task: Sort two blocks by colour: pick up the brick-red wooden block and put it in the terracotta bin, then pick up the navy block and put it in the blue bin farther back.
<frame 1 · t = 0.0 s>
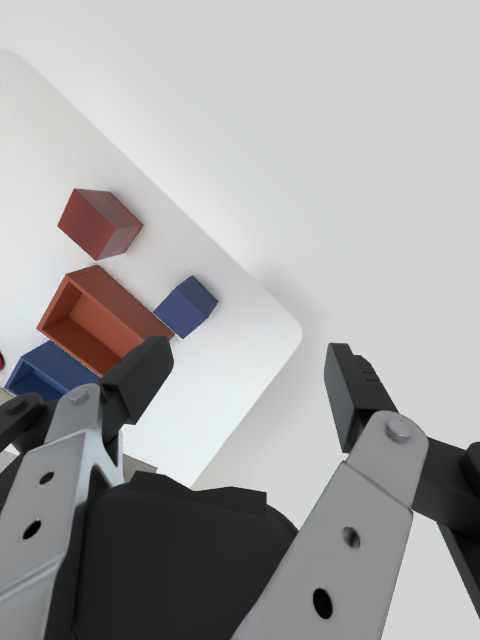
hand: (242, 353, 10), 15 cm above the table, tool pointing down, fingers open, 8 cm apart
red block: (117, 224, 24), on the table
blue bin: (71, 379, 39), on the table
architectural model: (105, 466, 54), on the table
reusable coffee cup: (0, 397, 47), on the table
terracotta bin: (119, 323, 31), on the table
navy block: (194, 299, 27), on the table
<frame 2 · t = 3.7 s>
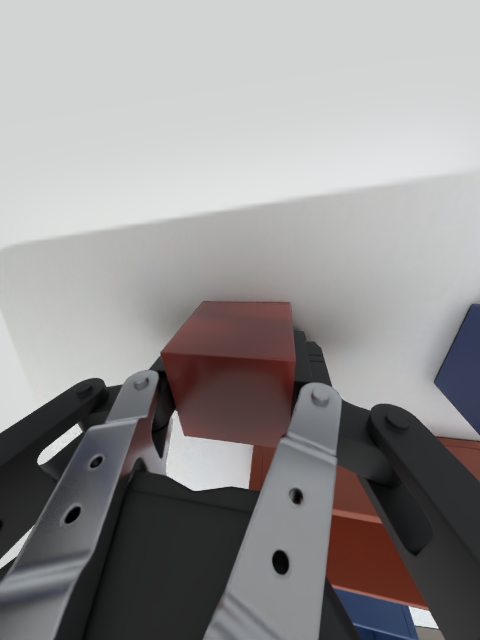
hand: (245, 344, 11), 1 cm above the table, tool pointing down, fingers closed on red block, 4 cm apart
red block: (246, 339, 12), on the table, touching gripper
blue bin: (317, 564, 25), on the table
terracotta bin: (345, 476, 16), on the table
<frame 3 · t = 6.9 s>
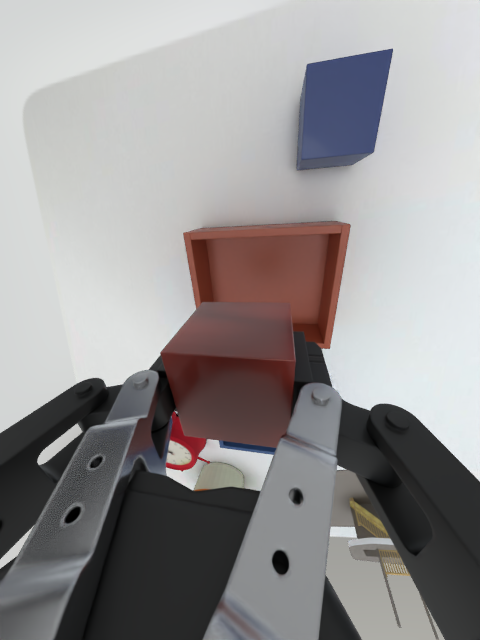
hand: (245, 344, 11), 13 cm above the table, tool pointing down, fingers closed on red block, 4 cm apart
alarm clock: (174, 426, 39), on the table
red block: (246, 339, 12), point 13 cm above the table, touching gripper
blue bin: (265, 401, 32), on the table
architectural model: (371, 499, 40), on the table
reusable coffee cup: (223, 473, 44), on the table
terracotta bin: (264, 280, 23), on the table
navy block: (327, 133, 17), on the table
when the fingers open (1 cm above the table, at t = 10.2 s): red block stays where it is, resting on terracotta bin.
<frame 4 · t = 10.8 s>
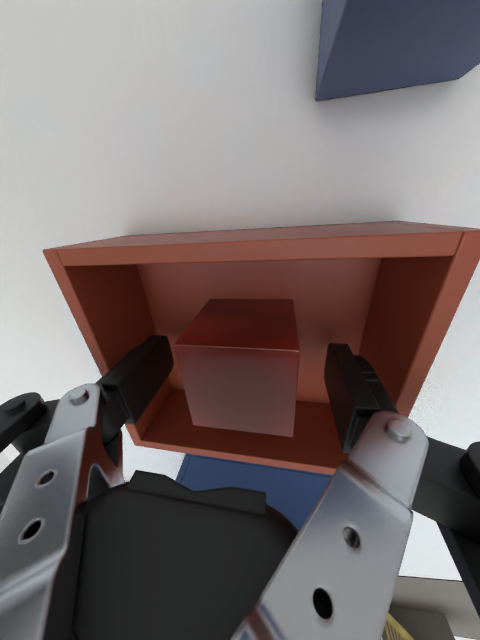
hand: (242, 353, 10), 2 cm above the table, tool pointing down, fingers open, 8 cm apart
red block: (251, 334, 12), resting on terracotta bin
blue bin: (257, 491, 21), on the table
architectural model: (405, 604, 29), on the table
terracotta bin: (250, 330, 13), on the table
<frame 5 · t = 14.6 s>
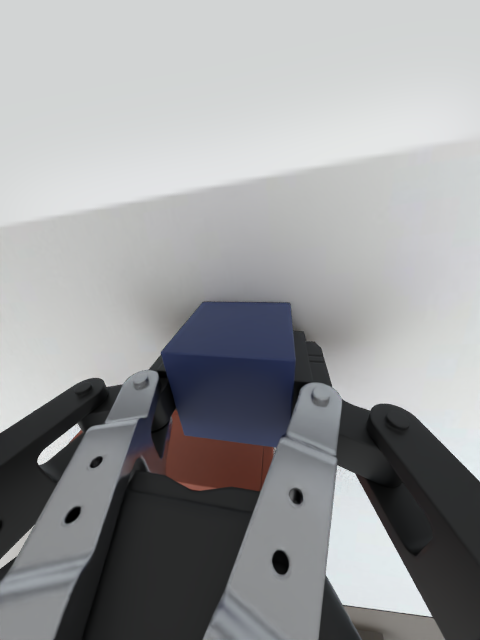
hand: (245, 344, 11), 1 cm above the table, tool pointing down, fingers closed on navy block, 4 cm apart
architectural model: (351, 624, 34), on the table
terracotta bin: (196, 454, 18), on the table
navy block: (246, 339, 12), on the table, touching gripper
when the fingers open (1 cm above the table, at t = 22.3 s): navy block stays where it is, resting on blue bin.
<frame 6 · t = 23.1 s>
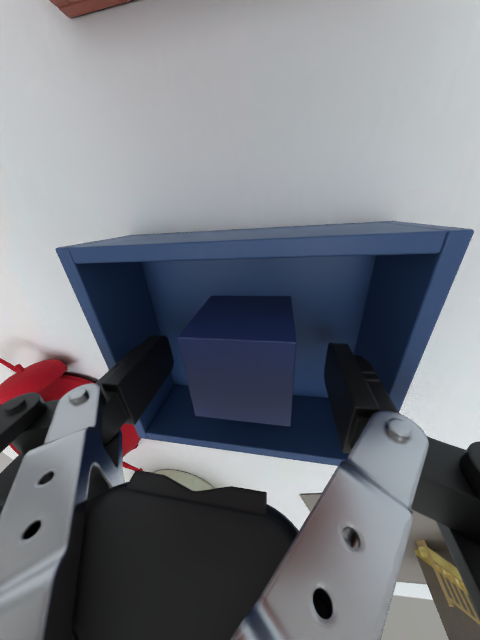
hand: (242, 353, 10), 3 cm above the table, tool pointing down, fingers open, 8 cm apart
alarm clock: (81, 400, 20), on the table
blue bin: (251, 326, 13), on the table
architectural model: (460, 544, 21), on the table
reusable coffee cup: (184, 489, 25), on the table
navy block: (251, 330, 13), resting on blue bin
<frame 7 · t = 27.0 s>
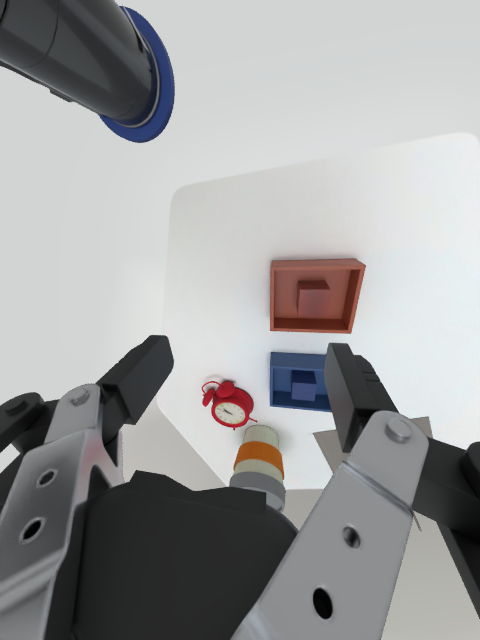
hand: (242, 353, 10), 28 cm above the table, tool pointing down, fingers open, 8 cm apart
alarm clock: (229, 396, 53), on the table
red block: (310, 293, 36), resting on terracotta bin
blue bin: (301, 374, 46), on the table
architectural model: (375, 451, 53), on the table
reusable coffee cup: (261, 435, 58), on the table
terracotta bin: (309, 292, 37), on the table
navy block: (301, 376, 45), resting on blue bin
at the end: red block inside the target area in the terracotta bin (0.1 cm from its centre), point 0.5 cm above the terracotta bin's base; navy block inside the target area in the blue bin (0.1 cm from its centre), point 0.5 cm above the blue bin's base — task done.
